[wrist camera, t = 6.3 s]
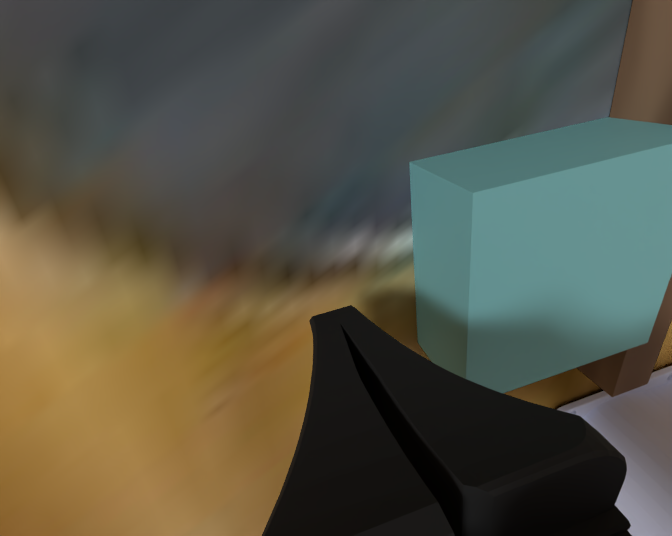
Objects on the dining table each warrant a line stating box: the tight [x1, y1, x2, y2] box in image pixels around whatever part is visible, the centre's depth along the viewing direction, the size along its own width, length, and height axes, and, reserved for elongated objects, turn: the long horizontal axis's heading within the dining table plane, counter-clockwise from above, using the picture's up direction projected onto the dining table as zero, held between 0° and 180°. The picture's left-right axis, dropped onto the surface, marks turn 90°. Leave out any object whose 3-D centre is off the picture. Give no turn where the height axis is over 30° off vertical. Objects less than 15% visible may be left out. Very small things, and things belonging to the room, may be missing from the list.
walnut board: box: [577, 0, 672, 397], centre depth 14 cm, size 2×20×3 cm, turn 9°
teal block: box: [409, 117, 672, 393], centre depth 14 cm, size 8×8×4 cm
